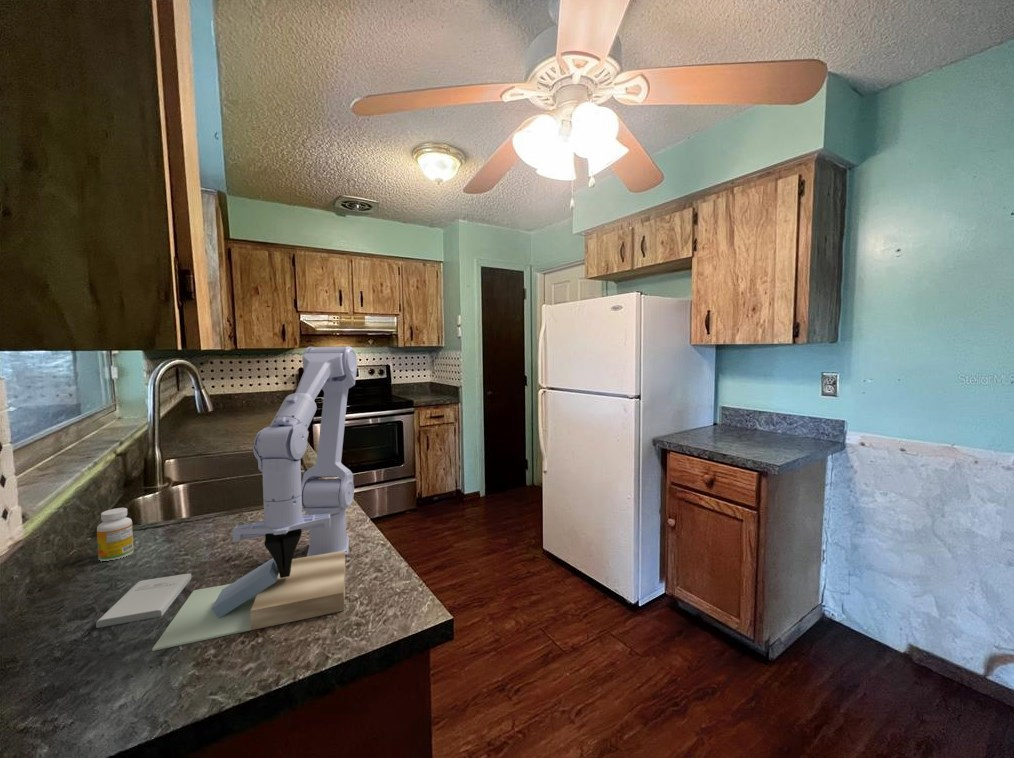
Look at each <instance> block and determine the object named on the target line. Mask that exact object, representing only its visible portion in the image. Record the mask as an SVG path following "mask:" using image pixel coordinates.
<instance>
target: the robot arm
mask: <svg viewBox="0 0 1014 758" xmlns="http://www.w3.org/2000/svg"><path fill="white" fill-rule="evenodd" d="M302 369H303V373H302V376H301V378H300V380H299V382H298V385H297V387H296V390H295V392H294V393H290V394H288V395H287V396H286V397H285V398H284V400H283V401H282V403H281V405H280V406H279V409H278V411H277V412H276V414H275V416H274V418H273V419H272V421H271V423H270V424H269V426H266V427H264V428H263V429H261V430H260V431H257V434H256V436H255V438H254V443H253V446H252V451H253V455H254V457H255V458H256V461H257V466H258V468H257V469H258V470H259V472H262V474H261V475H262V493H263V494H262V497H263V520H260V521H257V522H253V523H252V522H251V523H248V524H243V525H242V524H241V525H236V526H234V528H233V529H232V542H233V543H236V542H241V541H242V540H247V539H253V538H262V537H264V539H265V540H264V547H265V549H266V550H267V551H268V552H269V553H270V555H271V556H272V558H273V559H274V561H275V563H276V565H277V568H278V571H279V574H280V578H284V577H289V576H290V572H291V564H292V559H294V558H293V557H294V554H295V551H296V549H297V546H298V544H299V542H300V540H301V537H302V533H303V531H309V537H308V538H309V545H308V550H307V553H306V557H308V556H314V555H321V554H327V553H333V552H339V551H345V557H346V556H349V548H350V547H349V546H350V545H349V544H350V543H349V542H350V541H349V540H350V536H349V535H347V515H346V513H347V511H346V510H347V509H348V508H349V507H350V506H351V505H352V503H353V500H354V496H355V485H354V474H353V472H352V471H351V469H349V468H348V467H346V466H345V465H344V464H343V463H342V457H343V445H344V435H345V425H346V415H347V414H346V413H347V405H348V403H347V402H348V396H349V395H348V394H349V389H351V388H353V387H354V386H355V385H356V379H357V373H358V359H357V353H356V351H355V349H354V348H353V347H352V346H348V345H346V346H320V347H317V346H316V347H314V346H308V347H307V348H306V349H305V350H304V352H303V354H302ZM321 390H322V391H323V398H322V399H323V401H322V409H321V410H322V411H321V417H320V418H321V419H320V428H319V435H318V436H319V437H318V445H317V452H316V453H317V454H316V462H315V464H314V465H312V466H311V467H310V468H308V469H307V470H305V472H303V476H302V473H301V472H302V470H301V469H302V467H301V466H302V465H301V463H302V462H301V459H302V458H303V456H304V455H305V453H306V452H307V447H308V437H309V433H310V431H309V430H308V428H309V427H310V425H311V422H312V421H313V418H314V416H315V414H316V411H317V409H318V407H317V403H316V402H315V400H316V398H317V397H318V395H319V394H320V393H321ZM303 510H304V512H305V514H303Z"/></svg>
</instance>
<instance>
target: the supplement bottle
mask: <svg viewBox="0 0 1014 758" xmlns="http://www.w3.org/2000/svg"><path fill="white" fill-rule="evenodd" d="M128 514H129V513H128V508H127V507H118V508H113V509H112V508H111V509H108V510H105V511H102V512H101V513H100V521H102V522H100V523H99V524H98V525H97V527H96V541H97V542H96V543H97V556H98V561H99V560H100V561H99V562H102V561H109V560H114V561H116V560H115V559H118V560H121V559H124V558H126V556H127V557H129V556H131V555H132V554H133V553H134V535H133V532H134V531H133V521H132V518H131V517H127V516H128ZM128 555H129V556H128ZM123 557H124V558H123ZM120 558H121V559H120ZM109 562H110V561H109Z"/></svg>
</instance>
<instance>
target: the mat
mask: <svg viewBox="0 0 1014 758" xmlns="http://www.w3.org/2000/svg"><path fill="white" fill-rule="evenodd" d="M230 584H231V583H228V584H223V585H217V586H210V587H205V588H199V589H193V590H192V591H191V593H190V595H188V598H187V599H185V600H186V601H185V602H184V603H183V605H182V606H181V608H180V609H179V610H178V612H177V613H176V614H175V616H174V617H173V619H172V620H171V621H170V623H169V624H168V626H167V627H166V628H165V630H164V631H163V633H162V635H161V636H160V637H159V639H158V640H157V641H156V643H155V644H154V645H153V647H152V650H151V651H152V652H154V651H158V650H160V651H161V650H164V649H168V648H172V647H178V646H183V645H187V644H192V643H197V642H202V641H207V640H212V639H215V638H221V637H224V636H229V635H234V634H235V635H236V634H238V633H239V634H240V633H244V632H249V631H252V630H251V608H252V606H253V603H254V601H255V599H256V596H257V594H256V595H255V596H253V597H252V598H250V599H249V600H247V601H246V602H244V603H242V604H241V605H239V606H238V607H236V608H235V609H233V610H231V611H230V612H228V613H227V614H225V615H224V616H222V617H221V618H218V617H217V616H216V614H215V613H214V612H213V610H212V607H213V605H214V603H215V602H216V600H217V598H218V596H219V594H220V593H221V591H222V589H224V588H226V587H227V586H229V585H230Z"/></svg>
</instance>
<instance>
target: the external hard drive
mask: <svg viewBox="0 0 1014 758" xmlns="http://www.w3.org/2000/svg"><path fill="white" fill-rule="evenodd" d="M191 580H192V573H183V574H177V575H171V576H163V577H156V578H150V579H143V580H139V581H137V582H136V583H135V584H134V585H133V586H132V587H131V588H130V589H129V590H128V591H126V593H125V594H123V596H122V597H121V598H119V600H117V602H115V604H114V605H112V606H111V607H110V608H109V609H108V610H107V611H106V612H105V613H104V614H103V615H102V616H101V617H100V618H99V619H97V621H96V622H95V625H96V629H99V628H105V627H110V626H115V625H121V624H126V623H132V622H138V621H143V620H149V619H154V618H160V617H163V615H164V614H165V613H166V612H167V610H168V609H169V608H170V607H171V605H172V604H173V603H174V602H175V600H176V599H177V597H178V596H179V595H181V593H182V591H184V590H185V589H184V588H185V587H186V586H187V585H188V583H190V581H191Z"/></svg>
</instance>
